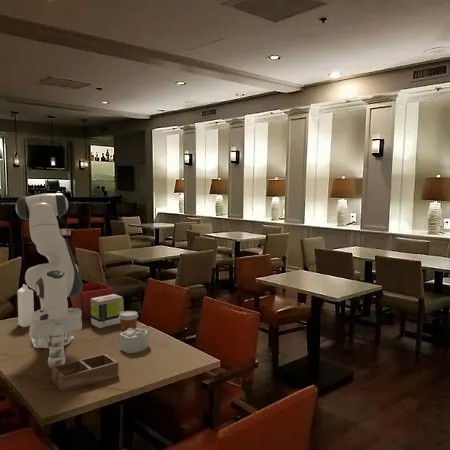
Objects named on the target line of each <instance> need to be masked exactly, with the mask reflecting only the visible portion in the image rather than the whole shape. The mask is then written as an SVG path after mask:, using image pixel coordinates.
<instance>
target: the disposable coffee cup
mask: <svg viewBox="0 0 450 450" xmlns="http://www.w3.org/2000/svg"><path fill="white" fill-rule="evenodd" d="M119 318H120V323H119V324H120V329H121V333H122V332H124V331H127V329H129V328H133V329H136V328H137V323H138V318H139V314H138V312H137V311H135V310H126V311H125V310H124V312H121V313H120V315H119Z"/></svg>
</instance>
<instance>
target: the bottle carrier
mask: <svg viewBox="0 0 450 450" xmlns="http://www.w3.org/2000/svg"><path fill="white" fill-rule="evenodd" d="M116 377H119V361H117V360H116V359H114V358H113V357H111V356H110V355H109V354H107V353H101V354H97V355H93V356H88V357H85V358H81V359H78V360H75V361H74V360H73V361H70V362H65V364H61V365H58V366H54V367H52V368H51V382H52V383H53V384H54V385H55V386H56V387H57V388H58V389H59V390H60V391H61V392H63V393H66V392H69V391H72V390H76V389H79V388H83V387H86V386H90V385H92V384H96V383H99V382H102V381H106V380H109V379H113V378H116Z"/></svg>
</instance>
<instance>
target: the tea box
mask: <svg viewBox="0 0 450 450" xmlns="http://www.w3.org/2000/svg"><path fill="white" fill-rule="evenodd" d="M124 301H125V300H124V297H123V296H122V295H118V294H115V293H111V295H106V296H101V297H96V298H91V318H90V323H91V325H93V326H94V327H97V328H99V329H102V328H106V327H110V326H115V325H118V324H121V323H120V318H119V315H120V313H121V312H124V311H125V307H124V305H125V304H124V303H125V302H124Z"/></svg>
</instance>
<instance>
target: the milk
mask: <svg viewBox="0 0 450 450" xmlns="http://www.w3.org/2000/svg"><path fill="white" fill-rule="evenodd" d="M34 301H35V300H34V289H31V288H29V286H28V285H27V284H25V283H23V284H22V287H20V288H19V289H18V290H17V312H18V313H17V315H18V316H17V319H18V326H20V327H22V328H26V327H30V323H31V321H32V320H33V319H34V318H33V317H32V313H33V312H35V307H34V306H35V305H34V303H35V302H34Z"/></svg>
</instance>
